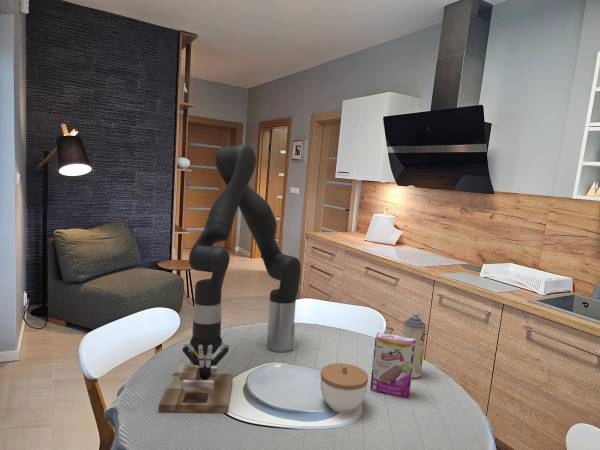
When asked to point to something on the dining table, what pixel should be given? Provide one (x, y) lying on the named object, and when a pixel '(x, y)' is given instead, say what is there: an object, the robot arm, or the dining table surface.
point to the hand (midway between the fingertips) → (204, 378)
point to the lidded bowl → (343, 386)
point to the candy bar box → (392, 364)
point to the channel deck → (198, 394)
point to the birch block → (188, 373)
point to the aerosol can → (416, 331)
